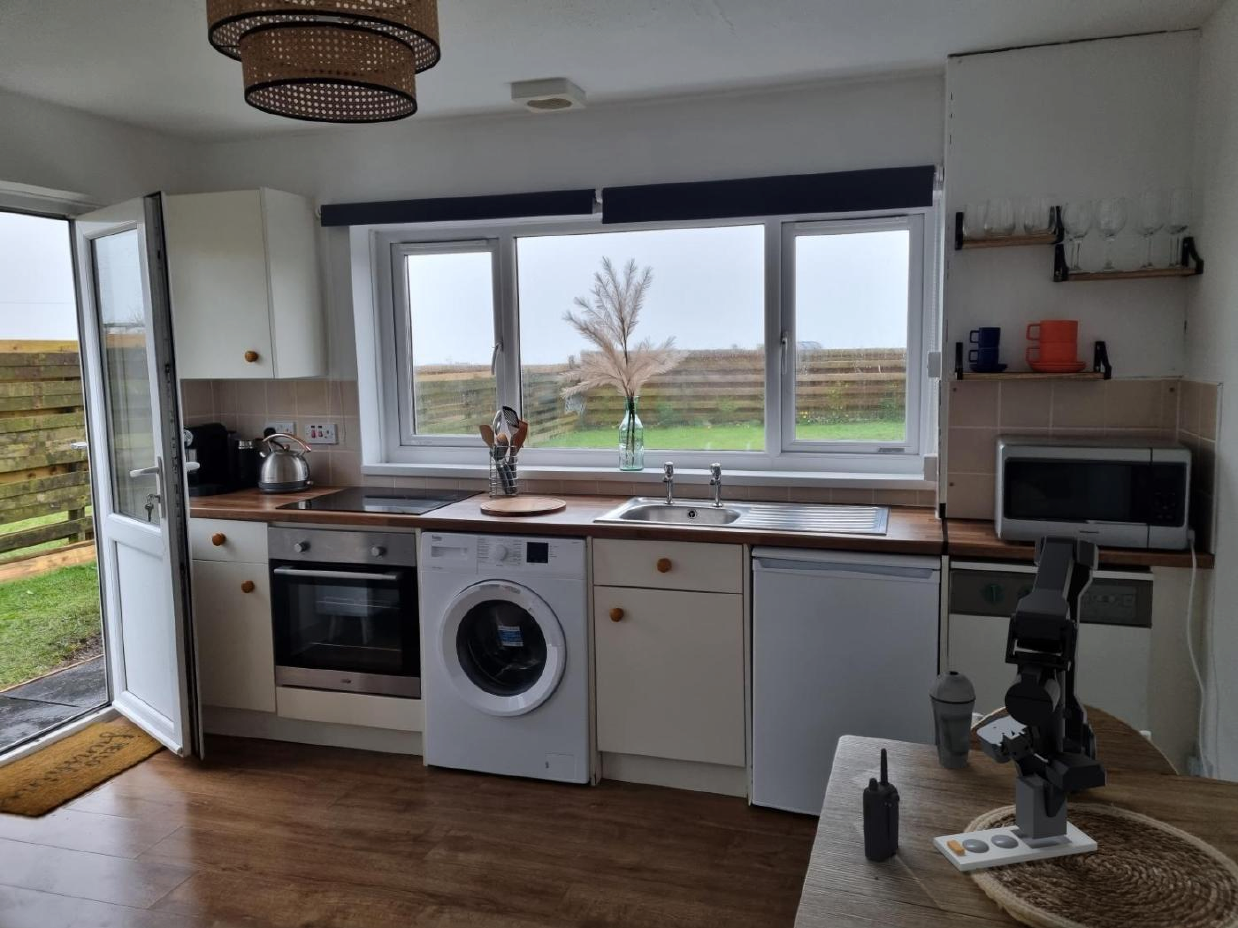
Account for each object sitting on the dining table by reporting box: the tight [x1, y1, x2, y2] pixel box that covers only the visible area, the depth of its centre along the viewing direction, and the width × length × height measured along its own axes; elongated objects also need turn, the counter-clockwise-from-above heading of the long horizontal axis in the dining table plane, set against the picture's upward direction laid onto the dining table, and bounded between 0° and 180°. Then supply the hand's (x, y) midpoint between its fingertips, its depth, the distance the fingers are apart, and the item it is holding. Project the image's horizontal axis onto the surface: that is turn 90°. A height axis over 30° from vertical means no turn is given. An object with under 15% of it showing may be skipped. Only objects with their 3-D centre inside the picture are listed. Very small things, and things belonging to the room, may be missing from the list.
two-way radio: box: [862, 747, 901, 862], centre depth 128 cm, size 6×4×15 cm
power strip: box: [933, 820, 1098, 872], centre depth 127 cm, size 20×7×3 cm, turn 100°
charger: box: [1015, 775, 1068, 840], centre depth 127 cm, size 5×4×7 cm
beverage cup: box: [929, 645, 977, 769], centre depth 155 cm, size 7×7×20 cm
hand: (1040, 809), depth 127 cm, fingers closed on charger, 4 cm apart
